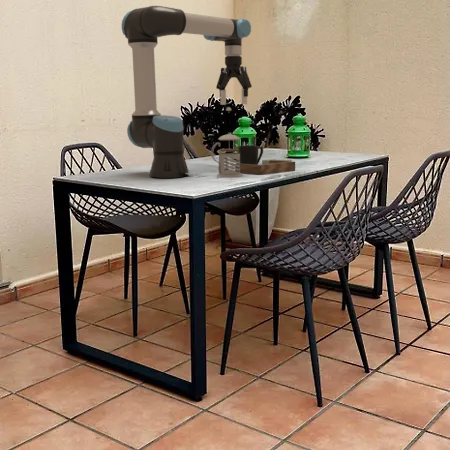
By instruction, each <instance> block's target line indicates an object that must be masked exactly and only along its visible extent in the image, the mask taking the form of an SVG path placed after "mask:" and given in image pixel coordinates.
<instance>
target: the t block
mask: <svg viewBox="0 0 450 450" xmlns="http://www.w3.org/2000/svg"><path fill="white" fill-rule="evenodd" d="M269 160H278V161H292V162H293V159H277V158H267V159H262V162H261V163H262V164H261V165H263V164H269Z"/></svg>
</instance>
